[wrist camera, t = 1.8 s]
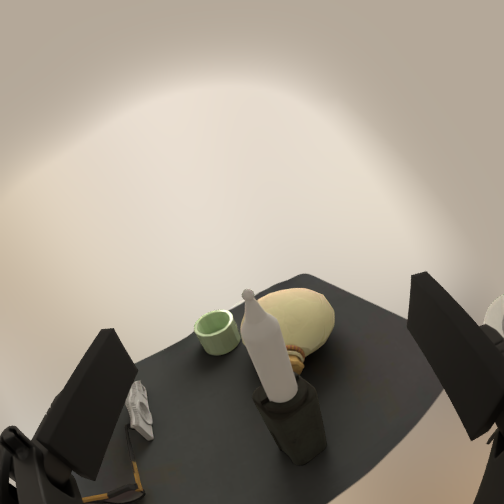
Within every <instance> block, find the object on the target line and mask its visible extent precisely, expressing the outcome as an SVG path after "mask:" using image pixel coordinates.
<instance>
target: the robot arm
mask: <svg viewBox="0 0 504 504" xmlns="http://www.w3.org/2000/svg"><path fill="white" fill-rule="evenodd" d="M407 328H408V330H409V331H410V333H411V334H412V336H413V338H414V339H415V341H416V342H417V344H418V345H419V347H420V349H421V350H422V352H423V354H424V355H425V357H426V358H427V360H428V362H429V363H430V365H431V367H432V368H433V370H434V372H435V374H436V375H437V377H438V379H439V380H440V382H441V384H442V386H443V388H444V389H445V391H446V393H447V395H448V397H449V398H450V400H451V402H452V404H453V406H454V408H455V409H456V412H457V414H458V415H459V417H460V419H461V421H462V423H463V425H464V427H465V429H466V431H467V433H468V436H469V437H470V440H471V441H473V440H475V439H476V438H478V437H480V436H481V435H483V434H484V433H486V432H488V431H489V429H490V428H491V427H492V425H493V424H494V423H496V425H497V427H498V428H497V429H496V431H495V432H494V433H493V434H492V436H491V437H490V438H489V440H488V442H487V444H490V443H491V441H492V440H493V439H494V440H493V444H492V448H491V452H490V457H489V460H488V463H487V466H486V470H485V473H484V476H483V479H482V482H481V485H480V487H479V490H478V493H477V495H476V498H475V501H474V503H473V504H504V338H503V337H502V335H501V334H500V333H499V332H498V331H497V330H496V329H494V328H493V327H491V326H489V325H487V324H484V325H482V326H478V325H477V324H476V322H475V321H474V320H473V319H472V318H471V317H470V316H469V315H468V314H467V313H466V311H465V310H464V309H463V308H462V307H461V306H460V305H459V304H458V303H457V302H456V301H455V300H454V299H453V298H452V297H451V295H450V294H449V293H448V292H447V291H446V290H445V289H444V288H443V287H442V286H441V285H440V284H439V283H438V282H437V281H436V280H435V279H433V278H432V277H431V276H430V274H428V273H427V272H422V273H418V274H415V275H411V289H410V301H409V312H408V320H407ZM502 329H503V333H504V316H503V320H502ZM137 372H138V369H137V368H136V366H135V364H134V363H133V361H132V360H131V358H130V356H129V355H128V353H127V351H126V350H125V348H124V346H123V344H122V343H121V341H120V339H119V337H118V335H117V334H116V332H115V330H114V328H110V329H101V331H100V332H99V334H98V335H97V337H96V338H95V340H94V341H93V343H92V344H91V346H90V347H89V349H88V350H87V352H86V353H85V355H84V356H83V358H82V359H81V361H80V363H79V364H78V366H77V367H76V369H75V370H74V372H73V374H72V375H71V377H70V379H69V380H68V382H67V384H66V385H65V387H64V389H63V390H62V391H61V392H60V393H59V394H58V395H57V396H56V397H55V399H54V401H53V402H52V404H51V408H49V409H48V411H47V415H45V416H44V418H43V420H42V422H41V423H40V425H39V427H38V429H37V431H36V433H35V435H34V437H33V438H32V440H31V441H30V440H29V439H28V438H27V437H26V436H25V435H24V434H23V433H22V432H21V431H20V430H19V429H18V428H17V427H16V426H9V427H7V428H6V429H5V430H4V431H3V432H2V434H1V436H0V504H84V503H83V500H82V497H81V495H80V492H79V489H78V486H77V483H76V480H75V478H74V476H73V475H71V472H72V470H73V471H74V472H76V473H77V474H78V475H80V476H81V477H84V478H87V479H90V480H93V481H95V480H96V477H97V474H98V472H99V469H100V466H101V463H102V460H103V458H104V455H105V452H106V449H107V447H108V444H109V441H110V439H111V436H112V433H113V431H114V428H115V426H116V423H117V421H118V418H119V415H120V413H121V411H122V408H123V406H124V403H125V401H126V398H127V396H128V393H129V391H130V389H131V386H132V384H133V382H134V379H135V377H136V375H137ZM9 477H10V478H11V479H12V480H14V481H15V482H16V487H14V486H13V485H11V484H10V483H9Z"/></svg>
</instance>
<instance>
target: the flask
mask: <svg viewBox="0 0 504 504" xmlns="http://www.w3.org/2000/svg"><path fill="white" fill-rule="evenodd" d="M257 302H258V303H259V304H260V306H261V307H262V308H263V309H264V311H265V312H267V313H269V314H271V315H272V316H274V317H275V318H276V319H277V320H278V322H279V325H280V329H281V332H282V335H283V339H284V342H285V346H286V349H287V352H288V356H289V359H290V362H291V366H292V369H293V371H294V372H296V373H297V374H298V375H300V374H301V372H302V370H303V368H304V364H303V362H304V360H305V357H306V356H308V355H309V354H311V353H312V352H314V351H316V350H317V349H318V348H320V347H321V346H322V345H324V344H325V342H326V340H327V339H328V337H329V335H330V334H331V332H332V329H333V327H334V310H333V308H332V307H331V305H330V304H329V302H328V301H327V299H326V298H325V297H324V296H323V295H322V294H319V293H317V292H314V291H312V290H309V289H305V288H292V289H286V290H280V291H277V292H273V293H270V294H268V295H266V296H264V297H262V298H260V299H259V300H258V301H257ZM244 320H245V314H244V317H243V320H242V323H241V328H242V325H243V322H244ZM240 332H241V329H240ZM241 336H242V335H241ZM242 341H243V338H242ZM243 344H244V345H245V343H244V341H243ZM245 346H246V345H245Z"/></svg>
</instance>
